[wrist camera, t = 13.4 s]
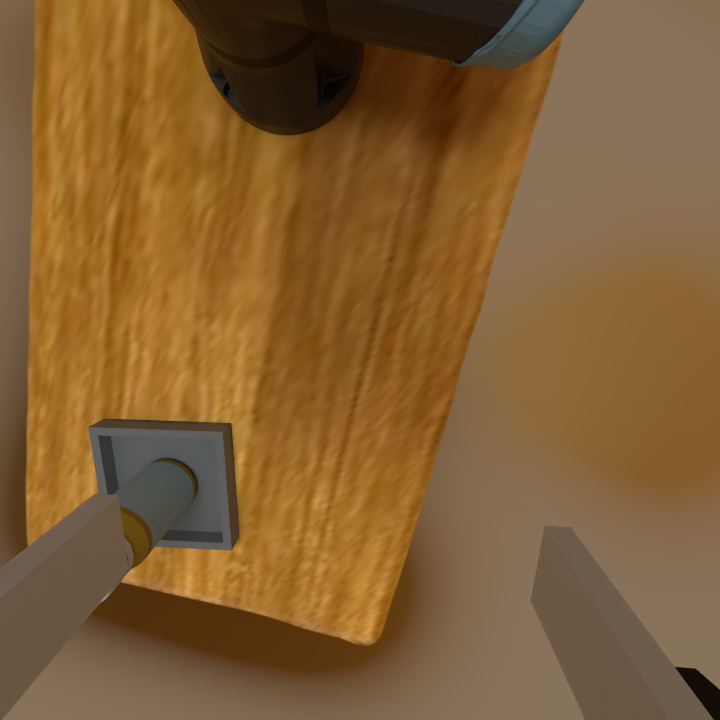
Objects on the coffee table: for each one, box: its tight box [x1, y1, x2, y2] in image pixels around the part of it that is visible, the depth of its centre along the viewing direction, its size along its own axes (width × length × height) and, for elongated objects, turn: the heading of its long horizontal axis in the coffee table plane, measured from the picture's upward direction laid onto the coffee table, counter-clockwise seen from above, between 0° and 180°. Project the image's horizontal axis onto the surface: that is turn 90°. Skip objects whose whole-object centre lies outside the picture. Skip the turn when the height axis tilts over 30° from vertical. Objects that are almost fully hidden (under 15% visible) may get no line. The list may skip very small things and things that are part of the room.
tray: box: [88, 419, 239, 550], centre depth 46 cm, size 16×16×2 cm
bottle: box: [101, 459, 196, 602], centre depth 39 cm, size 7×7×15 cm
